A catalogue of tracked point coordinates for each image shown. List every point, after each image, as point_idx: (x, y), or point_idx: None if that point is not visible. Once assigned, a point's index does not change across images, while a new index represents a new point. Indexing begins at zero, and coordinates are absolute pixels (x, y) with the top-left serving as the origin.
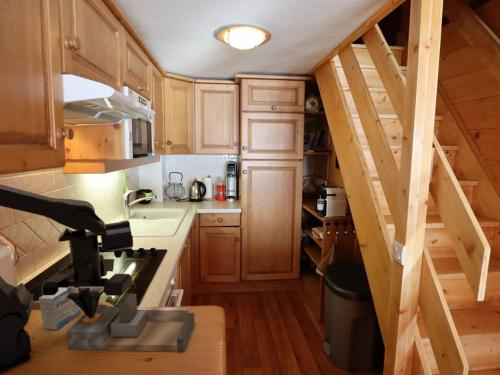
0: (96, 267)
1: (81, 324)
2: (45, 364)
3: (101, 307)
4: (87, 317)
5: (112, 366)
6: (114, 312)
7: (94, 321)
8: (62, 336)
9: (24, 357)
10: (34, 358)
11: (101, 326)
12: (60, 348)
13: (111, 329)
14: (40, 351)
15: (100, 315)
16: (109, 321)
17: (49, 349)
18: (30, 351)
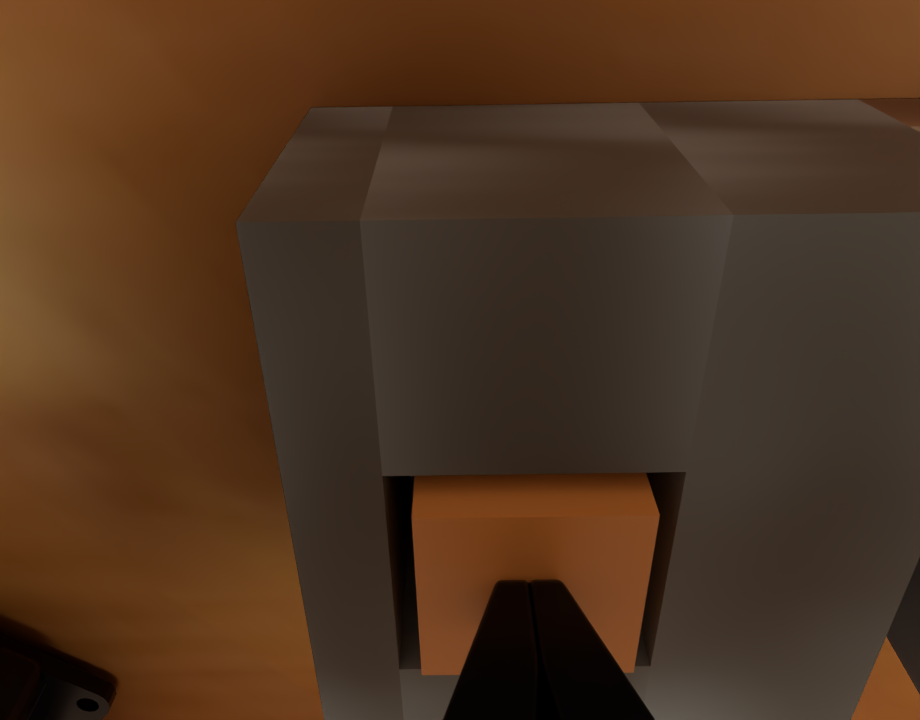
0: None
1: (447, 697)
2: (298, 703)
3: (506, 257)
4: (451, 615)
5: (891, 701)
6: (902, 424)
7: (629, 663)
8: (99, 415)
9: (50, 701)
10: (130, 663)
11: (785, 715)
12: (262, 567)
13: (901, 651)
14: (92, 602)
15: (653, 533)
16: (876, 634)
17: (157, 580)
18: (36, 677)
